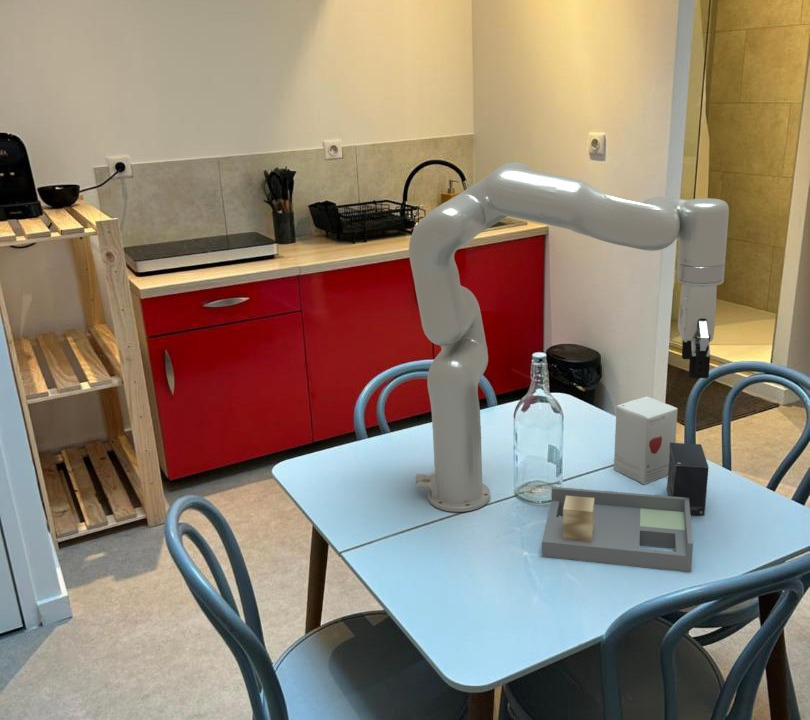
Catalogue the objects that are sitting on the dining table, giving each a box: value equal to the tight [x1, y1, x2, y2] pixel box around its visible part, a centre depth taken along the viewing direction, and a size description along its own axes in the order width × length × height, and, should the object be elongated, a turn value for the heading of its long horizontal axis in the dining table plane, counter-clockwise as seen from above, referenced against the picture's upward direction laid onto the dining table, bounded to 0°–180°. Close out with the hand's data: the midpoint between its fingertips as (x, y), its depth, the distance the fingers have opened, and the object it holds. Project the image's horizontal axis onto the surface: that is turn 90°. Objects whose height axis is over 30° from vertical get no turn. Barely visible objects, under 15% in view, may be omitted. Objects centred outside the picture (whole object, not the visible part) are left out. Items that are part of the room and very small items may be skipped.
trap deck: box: [541, 486, 694, 573], centre depth 148 cm, size 25×16×6 cm, turn 74°
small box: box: [666, 442, 709, 516], centre depth 159 cm, size 11×6×10 cm, turn 168°
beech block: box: [562, 496, 594, 542], centre depth 146 cm, size 5×5×6 cm
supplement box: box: [613, 395, 678, 485], centre depth 171 cm, size 9×9×15 cm
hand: (694, 367), depth 145 cm, fingers open, 9 cm apart
